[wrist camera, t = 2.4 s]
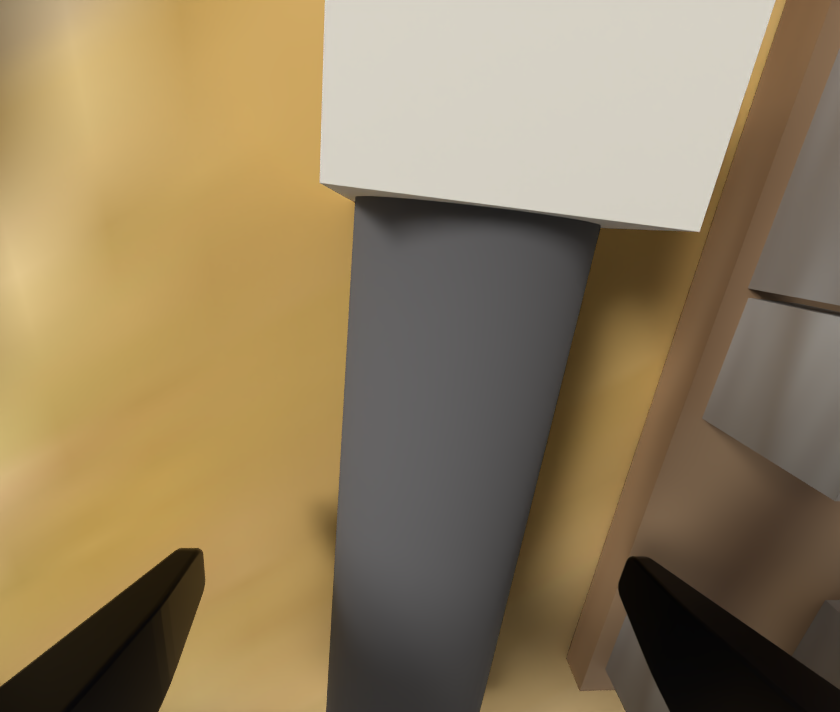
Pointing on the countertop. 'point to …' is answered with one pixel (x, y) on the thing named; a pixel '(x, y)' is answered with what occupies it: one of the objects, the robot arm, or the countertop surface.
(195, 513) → the countertop surface
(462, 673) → the gray rod with block
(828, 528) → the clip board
